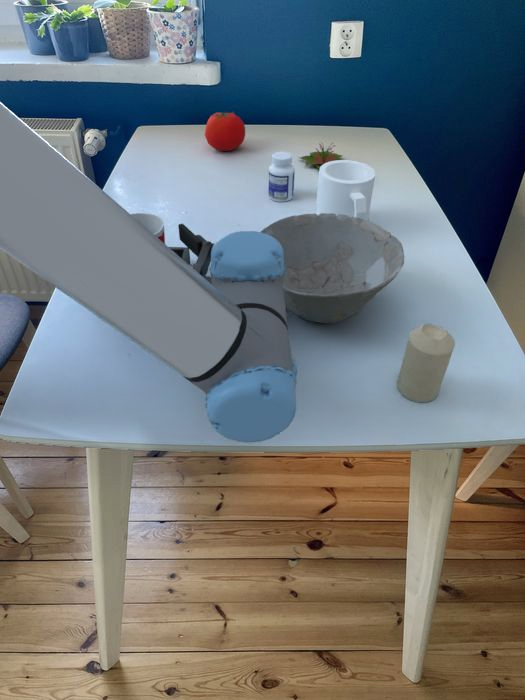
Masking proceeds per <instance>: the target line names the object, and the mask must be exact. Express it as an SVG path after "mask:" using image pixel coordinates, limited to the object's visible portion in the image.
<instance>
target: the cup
mask: <svg viewBox="0 0 525 700" xmlns="http://www.w3.org/2000/svg"><path fill="white" fill-rule="evenodd" d="M130 214H131V215H132V216H133V217H134V218H135V219H136V220H137V221H139V222H140V223H141V224H142V225H143V226H144V227H146V228H147V229H148V230H149V231H150V232H151V233H153V234H154V235H155V236H156V237H157V238H158V239H160V240H161V241H162V242H163V243H164V244H165V245H166V238H165V235H166V234H165V222H164V220H163V219H162V218H161V217H159V216H158V215H155V214H152V213H146V212H135V213H134V212H133V213H130Z"/></svg>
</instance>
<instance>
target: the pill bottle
mask: <svg viewBox="0 0 525 700" xmlns="http://www.w3.org/2000/svg"><path fill="white" fill-rule="evenodd" d="M292 163H293V154H292V153H290V152H288V151H276V152H273V154H272V155H271V164H270V165H269V166H268V198H269V199H270V200H272V201H274V202H279V203H284V202H285V203H286V202H288V201H291V200H292V199H293V198H294V193H295V175H296V174H295V172H296V170H295V166H294V165H293V164H292Z"/></svg>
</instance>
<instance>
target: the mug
mask: <svg viewBox="0 0 525 700" xmlns="http://www.w3.org/2000/svg"><path fill="white" fill-rule="evenodd" d="M318 170H319V171H318V181H317V191H316V203H315V213H314V214H317V215H319V214H321V213H325V214H331V213H333V214H336V216H337V215H338V214H341V215H347V216H349V217H356V218H361V219H363V220H366V221H369V216H370V210H371V203H372V197H373V191H374V185H375V179H376V170H375V169H374V168H373V167H372V166H370V165H368V164H366V163H363V162H361V161H356V160H349V159H344V160H335V161H330V162H327V163H325V164H323V165H322V166H321V167H320V169H318Z"/></svg>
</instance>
